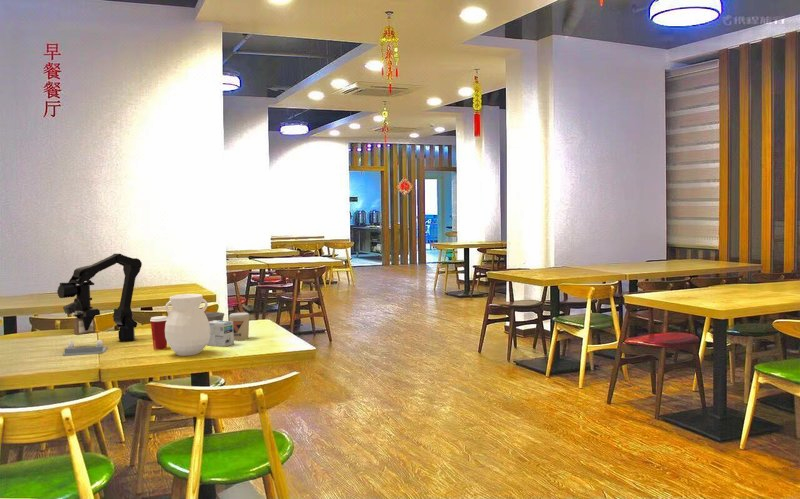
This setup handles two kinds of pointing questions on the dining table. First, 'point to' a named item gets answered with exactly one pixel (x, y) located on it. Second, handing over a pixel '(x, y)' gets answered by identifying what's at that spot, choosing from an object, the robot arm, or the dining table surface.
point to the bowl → (214, 316)
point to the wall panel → (84, 349)
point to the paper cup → (158, 332)
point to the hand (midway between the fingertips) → (84, 330)
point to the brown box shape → (80, 329)
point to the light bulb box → (221, 333)
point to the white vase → (187, 324)
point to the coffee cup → (240, 325)
